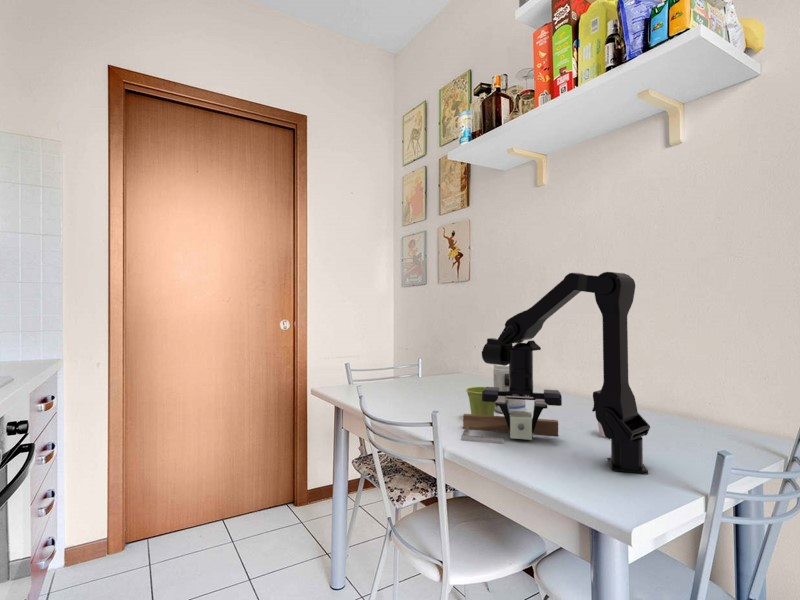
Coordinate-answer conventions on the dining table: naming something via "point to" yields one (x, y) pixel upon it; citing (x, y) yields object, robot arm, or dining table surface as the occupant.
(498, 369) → the supplement tub
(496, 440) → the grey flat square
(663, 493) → the dining table surface
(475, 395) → the plant pot
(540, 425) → the long brown board
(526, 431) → the pale green block
